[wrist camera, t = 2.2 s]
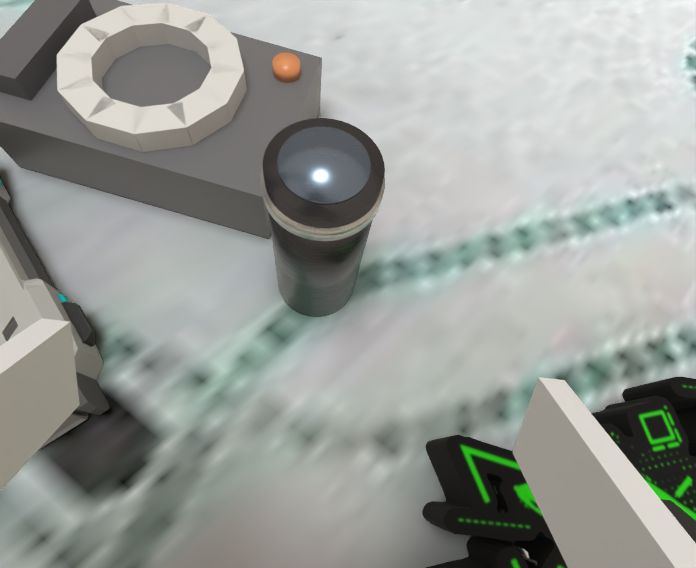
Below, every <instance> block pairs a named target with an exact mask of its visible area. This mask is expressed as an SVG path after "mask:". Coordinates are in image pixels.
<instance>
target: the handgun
mask: <svg viewBox="0 0 696 568" xmlns="http://www.w3.org/2000/svg"><path fill="white" fill-rule="evenodd" d="M9 201H10V196H9V194H8V193H7V191H6V189H5V187H4V186H3V184H2V181H1V176H0V346H1V345H2V344H4V343H5V342H7V341H8V340H10V339H11V338H13V337H14V336H16V335H17V334H19V333H20V332H22V331H23V330H25V329H26V328H28V327H29V326H31V325H32V324H34V323H35V322H37V321H38V320H40V319H41V318H43V319H52V320H60V321H69V322H70V324H71V332H72V341H73V350H74V359H75V368H76V377H77V386H78V394H79V403H80V405H79V406H78V407H77V408H76V409H75V410H74V411H73V413H72V414H71V415H70V416H69V417H68V418H67V419H66V420H65V421H64V422H63V423H62V424H61V426H60V427H59V428H58V429H57V430H56V431H55V432H54V433H53V434H52V435H51V436H50V438H49V439H48V440H47V441H46V442H45V443H44V444H43V445H42V446H41V447H40V448H39V449H41V448H43V447H44V446H46V445H47V444H49V443H50V442H52V441H54V440H55V439H57V438H58V437H60V436H61V435H63V434H65V433H66V432H68V431H69V430H71V429H73V428H74V427H76V426H77V425H79V424H80V423H82V422H84V421H85V420H87V419H88V414H90V413H92V414H96V415H100V414H102V413H104V412H105V411H107V410H108V409H110V407H109V404H108V401H107V399H106V397H105V396H104V394H103V392H102V390H101V388H100V387H99V385H98V383H97V381H96V380H97V378H98V376H99V373H100V371H101V369H102V367H103V360H102V358H101V355H100V353H99V350H98V348H97V347H96V345H95V332H94V330H93V328H92V327H91V325H90V323H89V321H88V320H87V318H86V316H85V314H84V313H83V311H82V309H81V307H80V306H79V305H77V304H75V303H72V302H71V301H70V299H68V298H67V297H65V296H64V295H63V294H61V293H60V292H58V291H57V290H56V289H55V288H54V286H53V284H52V283H51V281H50V279H49V277H48V276H47V274H46V272H45V270H44V268H43V267H42V265H41V263H40V261H39V259H38V258H37V256H36V254H35V252H34V250H33V249H32V247H31V245H30V243H29V241H28V240H27V238H26V236H25V234H24V232H23V231H22V229H21V227H20V225H19V223H18V222H17V220H16V218H15V216H14V214H13V212H12V211H11V209H10V207H9V205H8V203H9ZM39 449H38V450H39Z"/></svg>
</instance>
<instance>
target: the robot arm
mask: <svg viewBox="0 0 696 568" xmlns="http://www.w3.org/2000/svg"><path fill="white" fill-rule="evenodd" d="M79 405H80V403H79V394H78V386H77V377H76V368H75V359H74V350H73V341H72V332H71V324H70V322H69V321H60V320H52V319H43V318H41V319H40V320H38V321H37V322H35V323H34V324H32V325H31V326H29V327H28V328H26V329H25V330H23V331H22V332H20V333H19V334H17V335H16V336H14V337H13V338H11V339H10V340H8V341H7V342H5V343H4V344H2V345H1V346H0V491H1V490H2V488H3V487H4V486H5V485H6V484H7V483H8V482H9V481H10V480H11V479H12V478H13V477H14V475H15V474H16V473H17V472H18V471H19V470H20V469H21V468H22V467H23V466H24V465H25V464H26V462H27V461H28V460H29V459H30V458H31V457H32V456H33V455H34V454H35V453H36V452H37V451H38V449H39V448H40V447H41V446H42V445H43V444H44V443H45V442H46V441H47V440H48V439H49V438H50V436H51V435H52V434H53V433H54V432H55V431H56V430H57V429H58V428H59V427H60V426H61V424H62V423H63V422H64V421H65V420H66V419H67V418H68V417H69V416H70V415H71V414H72V413H73V411H74V410H75V409H76V408H77V407H78V406H79ZM512 453H513V455H514V457H515V459H516V461H517V463H518V465H519V467H520V469H521V471H522V473H523V476H524V478H525V480H526V482H527V484H528V486H529V488H530V490H531V492H532V494H533V496H534V498H535V501H536V503H537V505H538V507H539V509H540V511H541V513H542V515H543V517H544V519H545V521H546V523H547V525H548V528H549V530H550V532H551V534H552V536H553V538H554V540H555V542H556V544H557V546H558V548H559V550H560V552H561V555H562V557H563V559H564V561H565V563H566V565H567V567H568V568H696V520H695V519H693V518H692V517H691V516H690V515H688V514H687V513H686V512H685V511H683V510H682V509H681V508H680V507H679V506H677V505H676V504H675V503H674V502H672V501H671V500H664V499H660V498H659V497H658V496H657V495H656V493H655V492H654V491H653V490H652V488H651V487H650V486H649V485H648V483H647V482H646V481H645V480H644V478H643V477H642V476H641V475H640V474H639V472H638V471H637V470H636V469H635V467H634V466H633V465H632V464H631V462H630V461H629V460H628V459H627V457H626V456H625V455H624V454H623V452H622V451H621V450H620V449H619V447H618V446H617V445H616V444H615V442H614V441H613V440H612V439H611V438H610V436H609V435H608V434H607V433H606V431H605V430H604V429H603V428H602V426H601V425H600V424H599V423H598V421H597V420H596V419H595V418H594V416H593V415H592V414H591V413H590V411H589V410H588V409H587V408H586V406H585V405H584V404H583V403H582V402H581V400H580V399H579V398H578V397H577V395H576V394H575V393H574V392H573V390H572V389H571V388H570V387H569V385H568V384H567V383H566V382H565V380H558V379H549V378H541V377H538V380H537V383H536V386H535V389H534V392H533V395H532V397H531V400H530V403H529V406H528V409H527V412H526V415H525V417H524V420H523V423H522V426H521V429H520V432H519V435H518V437H517V440H516V443H515V446H514V449H513V452H512Z"/></svg>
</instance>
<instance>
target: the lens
mask: <svg viewBox="0 0 696 568" xmlns="http://www.w3.org/2000/svg"><path fill="white" fill-rule="evenodd" d="M384 172H385V168H384V161H383V158H382V155H381V153H380V150H379V149H378V147H377V146H376V144H375V143H374V142H373V140H372V139H371V138H370V137H369V136H368V135H366V134H365V133H364V132H363V131H361V130H360V129H358V128H356V127H355V126H352V125H350V124H348V123H345V122H342V121H339V120H334V119H327V118H315V119H307V120H302V121H299V122H296V123H294V124H291V125H289V126H287V127H286V128H284V129H283V130H281V131H280V132H279V133H277V134H276V135H275V136H274V137H273V139H272V140H271V141H270V143H269V144H268V146H267V148H266V150H265V153H264V157H263V165H262V169H261V187H262V194H263V199H264V203H265V205H266V208H267V210H268V212H269V219H270V226H271V234H272V241H273V248H274V256H275V263H276V270H277V278H278V285H279V290H280V293H281V295H282V298H283V299H284V301H285V302H286V303H287V304H288V305H289V306H290V307H291V308H292V309H294V310H295V311H297V312H299V313H301V314H304V315H307V316H314V317H319V316H326V315H329V314H332V313H334V312H336V311H338V310H339V309H341V308H342V307H343V306H344V305H345V304H346V303H347V301H348V300H349V298H350V296H351V294H352V291H353V288H354V284H355V280H356V277H357V273H358V270H359V266H360V263H361V259H362V255H363V252H364V248H365V245H366V241H367V238H368V234H369V230H370V227H371V223H372V220H373V218H374V217H375V215H376V213H377V212H378V209H379V207H380V204H381V200H382V197H383V193H384V188H385V178H384Z"/></svg>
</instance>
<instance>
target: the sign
mask: <svg viewBox="0 0 696 568" xmlns="http://www.w3.org/2000/svg"><path fill="white" fill-rule="evenodd" d="M623 398H624V400H625V401H626V402H622V403H617V404H612V405H608V406H607V407H606V408H605V409H604V410H603V411H601V412H596V413H591V414H592V415H593V416H594V418H595V419H596V420H597V421H598V423H599V424H600V425H601V426H602V428H603V429H604V430H605V431H606V433H607V434H608V435H609V436H610V438H611V439H612V440H613V441H614V442H615V444H616V445H617V446H618V447H619V449H620V450H621V451H622V452H623V454H624V455H625V456H626V457H627V459H628V460H629V461H630V462H631V464H632V465H633V466H634V467H635V469H636V470H637V471H638V472H639V474H640V475H641V476H642V477H643V478H644V480H645V481H646V482H647V483H648V485H649V486H650V487H651V488H652V490H653V491H654V492H655V493H656V495H657V496H658V497H659V498H660V499H664V500H671V501H672V502H674V503H675V504H676V505H677V506H679V507H680V508H681V509H682V510H683V511H685V512H686V513H687V514H688V515H690V516H691V517H692V518H693V519H695V520H696V379H692V378H686V377H674V378H670V379H665V380H661V381H657V382H653V383H649V384H645V385H641V386H637V387H633V388H628V389H625V390H624V392H623ZM426 450H427V453H428V456H429V458H430V460H431V463H432V465H433V467H434V470H435V472H436V474H437V476H438V479H439V481H440V484H441V486H442V489H443V491H444V494H445V497H446V502H443V503H442V502H430V503H427V504H426V505H425V506H424V508H423V516H424V518H425V519H426V520H427V521H429V522H430V523H431V524H434V525H436V526H438V527H440V528H443V529H445V530H447V531H449V532H452V533H454V534H463V535H471V536H472V537H471V538H470V539H469V540H468V542H467V549H468V553H469V557H467V558H464V559H461V560H456V561H451V562H446V563H442V564H438V565H434V566H430V567H426V568H568V567H567V565H566V563H565V561H564V559H563V557H562V555H561V552H560V550H559V548H558V546H557V544H556V542H555V540H554V538H553V536H552V534H551V532H550V530H549V528H548V525H547V523H546V521H545V519H544V517H543V515H542V513H541V511H540V509H539V507H538V505H537V503H536V501H535V498H534V496H533V494H532V492H531V490H530V488H529V486H528V484H527V482H526V480H525V478H524V476H523V473H522V471H521V469H520V467H519V465H518V463H517V461H516V459H515V457H514V455H513V453H512V452H513V451H510V450H506V449H503V448H500V447H497V446H494V445H490V444H487V443H484V442H481V441H478V440H475V439H473V438H470V437H464V436H460V435H455V436H450V437H445V438H440V439H436V440H432V441H429V442H428V443H427V445H426Z"/></svg>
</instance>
